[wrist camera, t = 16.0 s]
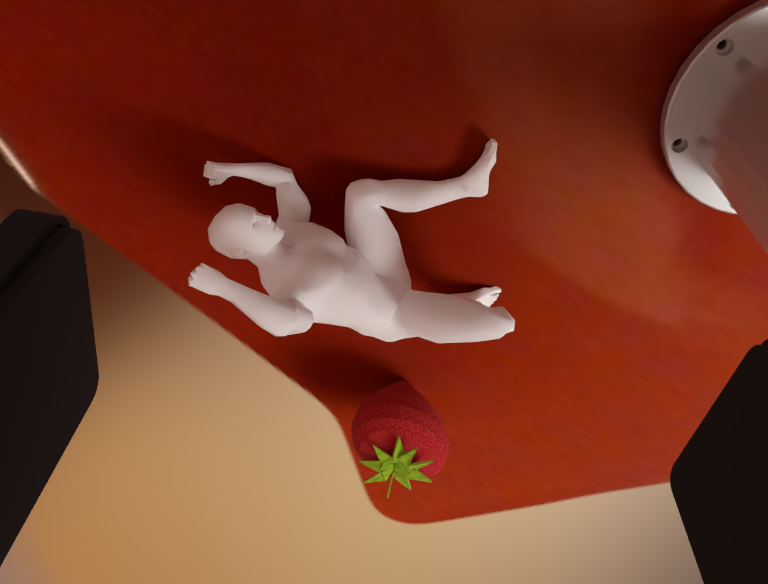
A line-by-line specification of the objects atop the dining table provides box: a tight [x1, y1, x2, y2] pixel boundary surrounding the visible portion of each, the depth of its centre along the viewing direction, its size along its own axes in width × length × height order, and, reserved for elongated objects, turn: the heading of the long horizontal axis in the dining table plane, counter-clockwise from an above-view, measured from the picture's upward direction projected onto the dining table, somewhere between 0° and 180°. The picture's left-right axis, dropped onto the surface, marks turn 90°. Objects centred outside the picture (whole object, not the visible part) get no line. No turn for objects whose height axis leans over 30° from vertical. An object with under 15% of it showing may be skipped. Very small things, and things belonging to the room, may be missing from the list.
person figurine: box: [188, 139, 515, 343], centre depth 40 cm, size 13×13×18 cm
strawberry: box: [351, 381, 449, 498], centre depth 48 cm, size 6×8×10 cm
